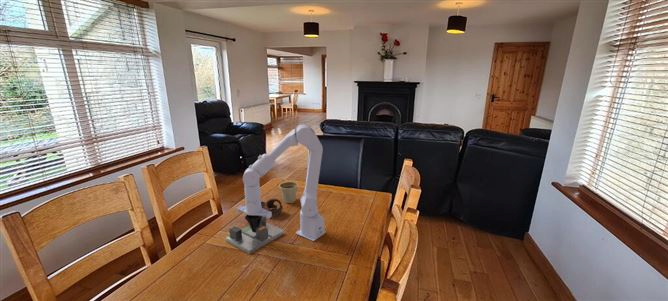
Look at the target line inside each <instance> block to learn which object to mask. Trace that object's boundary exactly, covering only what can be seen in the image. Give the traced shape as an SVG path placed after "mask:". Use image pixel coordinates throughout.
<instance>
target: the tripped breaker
mask: <svg viewBox="0 0 668 301" xmlns="http://www.w3.org/2000/svg"><path fill="white" fill-rule="evenodd" d="M256 237H258V238H260V239H262V240H264V239H266V238H267V237H268V229H267V228H265V227H264V226H259V227H257V228H256Z"/></svg>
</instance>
